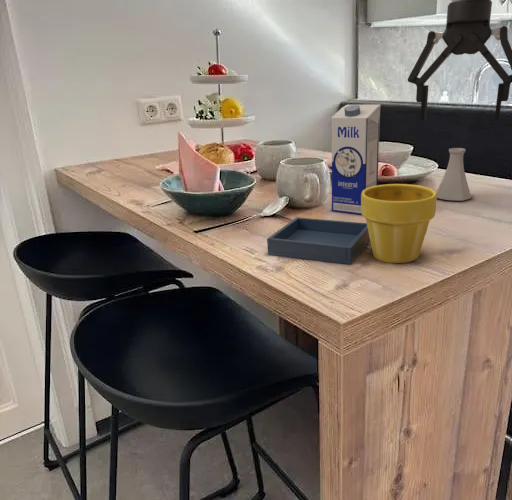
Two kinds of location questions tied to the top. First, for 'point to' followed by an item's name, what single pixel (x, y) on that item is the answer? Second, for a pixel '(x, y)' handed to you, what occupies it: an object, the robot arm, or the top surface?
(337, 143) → the milk carton
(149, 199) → the top surface
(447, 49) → the robot arm
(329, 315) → the top surface
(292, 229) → the tray
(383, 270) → the top surface
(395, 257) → the flower pot
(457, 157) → the flask
